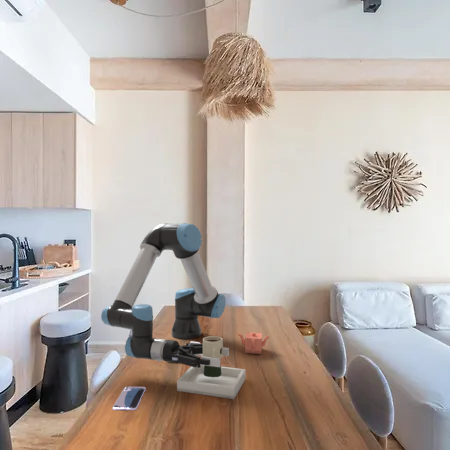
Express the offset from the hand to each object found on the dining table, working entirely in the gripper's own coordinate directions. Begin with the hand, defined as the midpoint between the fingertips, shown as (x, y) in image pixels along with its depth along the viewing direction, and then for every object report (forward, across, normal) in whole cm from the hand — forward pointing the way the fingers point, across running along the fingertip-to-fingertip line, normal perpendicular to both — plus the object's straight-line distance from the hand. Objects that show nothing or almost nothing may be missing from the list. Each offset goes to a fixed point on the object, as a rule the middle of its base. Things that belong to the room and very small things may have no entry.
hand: (224, 357), depth 126 cm
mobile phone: (-27, +17, -11) cm, 34 cm away
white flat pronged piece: (-21, -20, -10) cm, 31 cm away
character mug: (-4, 0, -7) cm, 8 cm away
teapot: (+3, -37, -10) cm, 39 cm away
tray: (-4, 0, -10) cm, 11 cm away
